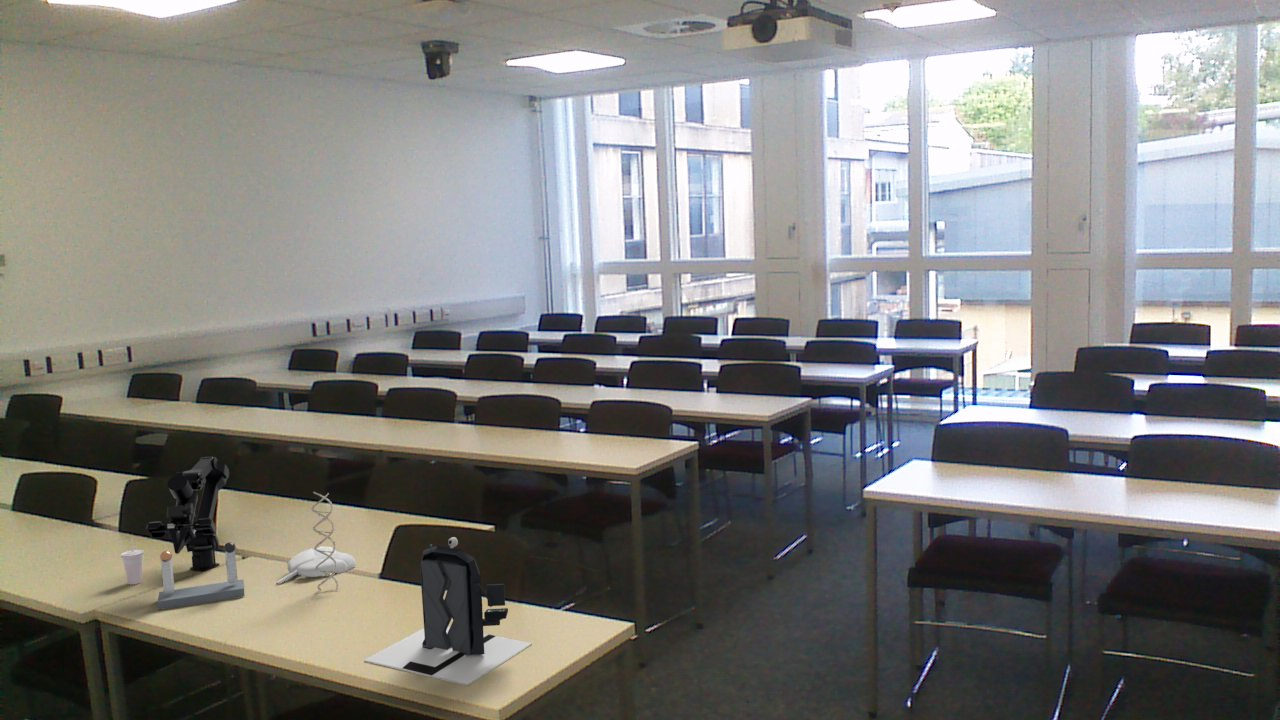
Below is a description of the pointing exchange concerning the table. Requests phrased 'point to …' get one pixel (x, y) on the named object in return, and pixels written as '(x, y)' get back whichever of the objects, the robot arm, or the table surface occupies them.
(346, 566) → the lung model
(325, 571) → the dna model
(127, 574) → the smoothie
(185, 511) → the robot arm
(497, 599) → the slab on white base
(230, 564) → the beige grey bar
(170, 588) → the copper knob rod
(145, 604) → the table surface
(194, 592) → the switch board
